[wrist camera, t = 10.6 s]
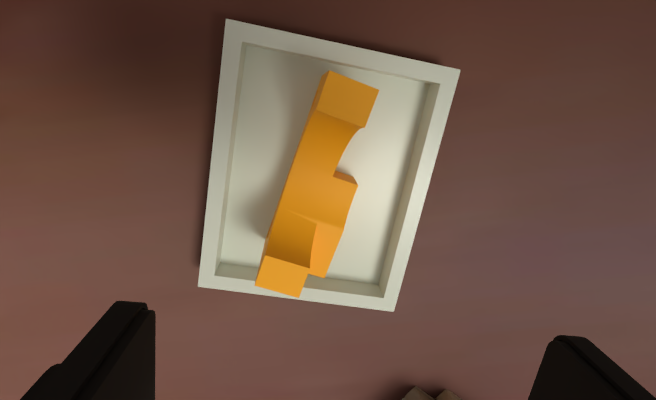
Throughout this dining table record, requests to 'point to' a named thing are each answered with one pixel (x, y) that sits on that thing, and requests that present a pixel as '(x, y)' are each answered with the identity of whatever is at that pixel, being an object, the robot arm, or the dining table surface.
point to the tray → (357, 161)
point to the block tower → (416, 396)
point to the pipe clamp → (315, 188)
